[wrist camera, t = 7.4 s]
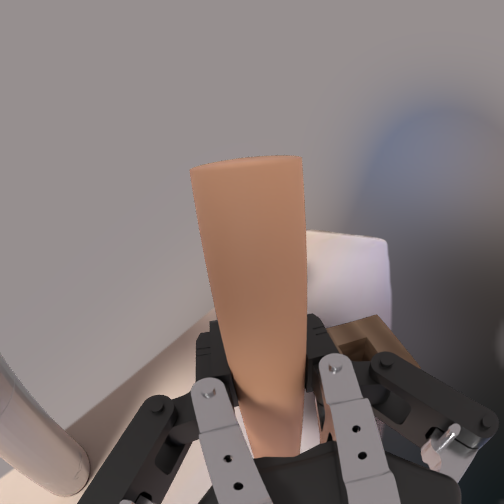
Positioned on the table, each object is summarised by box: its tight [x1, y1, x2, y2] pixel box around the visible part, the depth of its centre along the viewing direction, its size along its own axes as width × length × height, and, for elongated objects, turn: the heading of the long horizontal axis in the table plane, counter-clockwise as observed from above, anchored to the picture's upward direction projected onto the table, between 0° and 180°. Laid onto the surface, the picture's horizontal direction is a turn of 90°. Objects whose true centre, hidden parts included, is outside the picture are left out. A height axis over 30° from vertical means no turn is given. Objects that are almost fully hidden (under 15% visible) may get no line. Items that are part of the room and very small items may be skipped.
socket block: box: [326, 315, 420, 369], centre depth 29 cm, size 11×11×5 cm
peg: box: [190, 155, 307, 459], centre depth 11 cm, size 3×3×18 cm
